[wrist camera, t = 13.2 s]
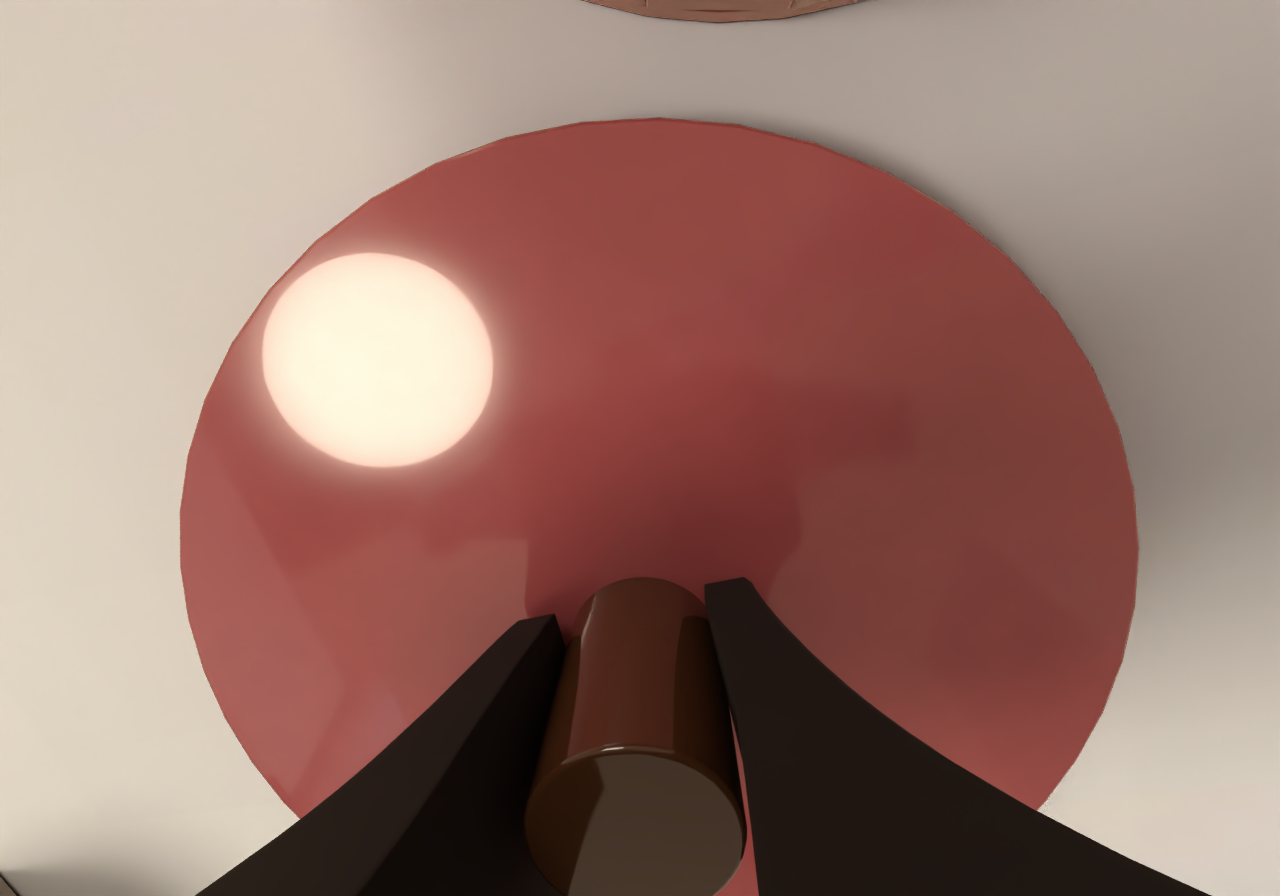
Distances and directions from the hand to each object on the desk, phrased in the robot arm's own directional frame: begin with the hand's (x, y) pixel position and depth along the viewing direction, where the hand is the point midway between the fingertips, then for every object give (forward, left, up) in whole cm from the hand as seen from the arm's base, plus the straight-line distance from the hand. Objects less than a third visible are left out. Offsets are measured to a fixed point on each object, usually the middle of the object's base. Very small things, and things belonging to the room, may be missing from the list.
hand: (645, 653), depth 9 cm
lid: (0, 0, -1) cm, 1 cm away
